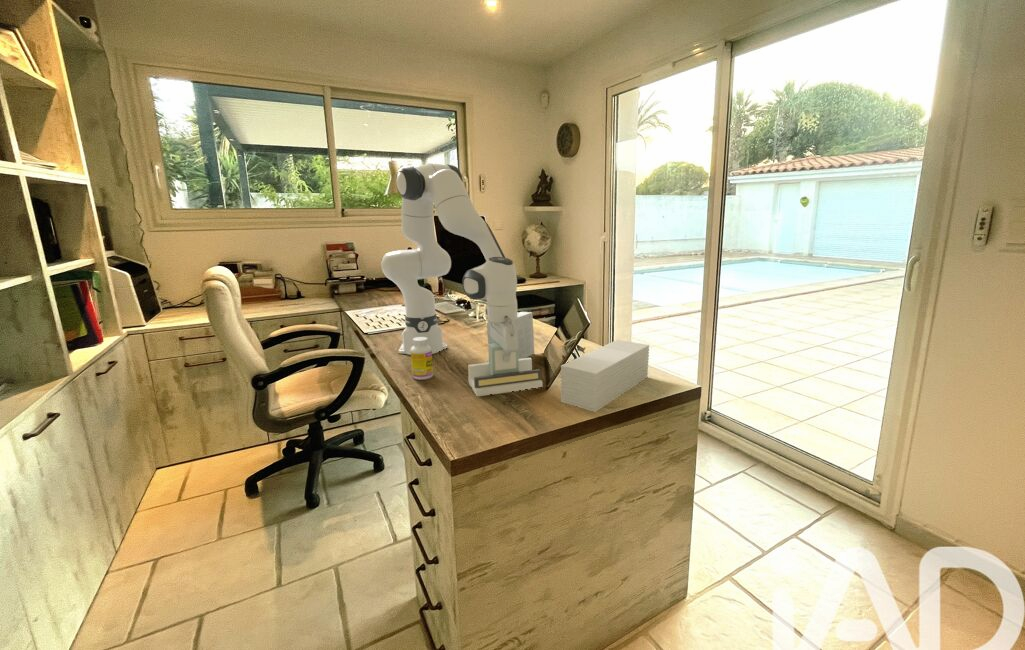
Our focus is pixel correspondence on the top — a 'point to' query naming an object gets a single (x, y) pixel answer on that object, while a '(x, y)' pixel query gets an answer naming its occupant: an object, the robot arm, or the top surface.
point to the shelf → (503, 378)
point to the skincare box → (522, 334)
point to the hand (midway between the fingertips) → (503, 358)
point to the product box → (501, 360)
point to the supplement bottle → (421, 359)
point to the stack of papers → (603, 374)
